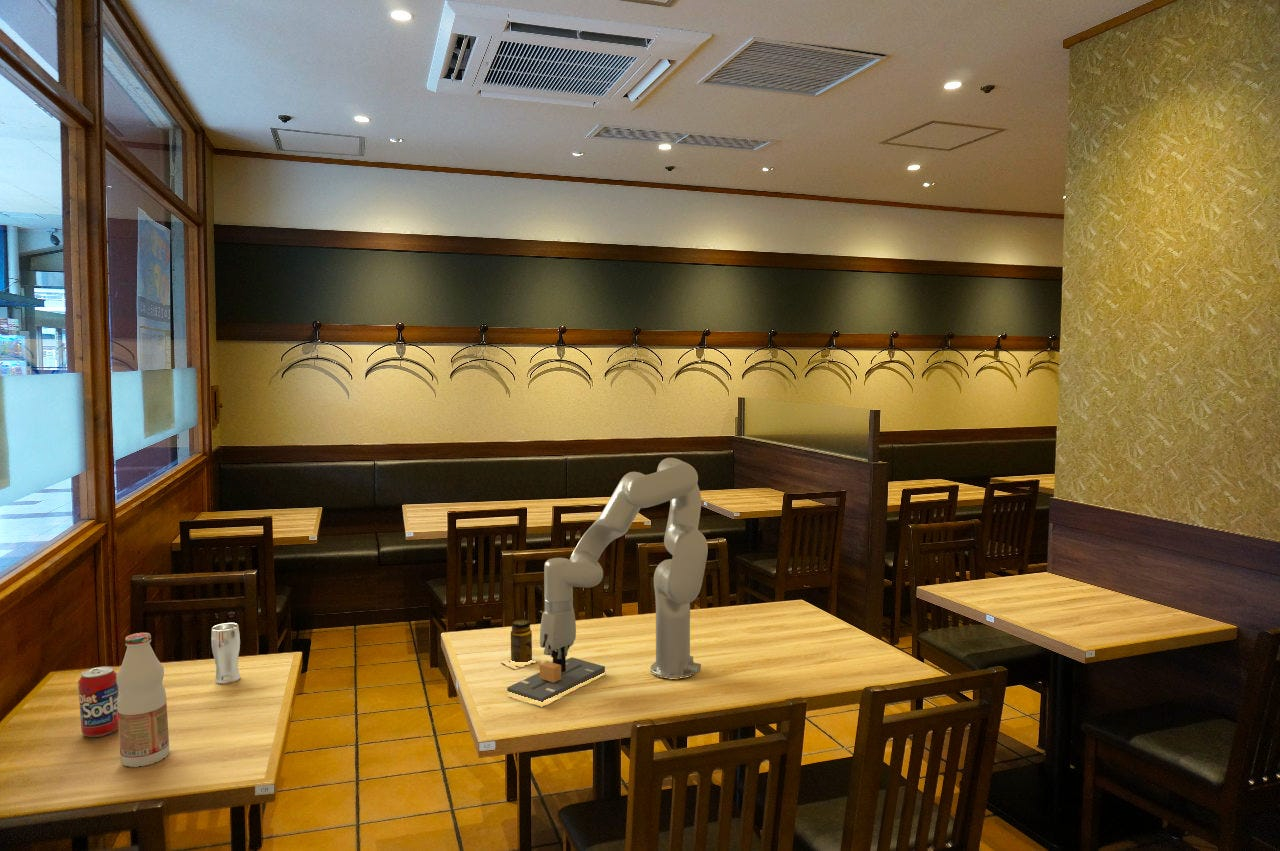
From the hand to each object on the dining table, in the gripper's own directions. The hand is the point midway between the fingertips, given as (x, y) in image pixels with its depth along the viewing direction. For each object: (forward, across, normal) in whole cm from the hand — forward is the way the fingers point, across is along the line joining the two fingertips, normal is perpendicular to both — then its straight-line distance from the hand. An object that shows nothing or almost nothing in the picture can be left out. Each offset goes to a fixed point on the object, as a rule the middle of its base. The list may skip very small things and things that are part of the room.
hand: (559, 671), depth 227 cm
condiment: (+4, -5, -20) cm, 21 cm away
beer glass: (+4, +50, -76) cm, 92 cm away
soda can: (+4, +84, -70) cm, 110 cm away
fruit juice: (+4, +84, -48) cm, 97 cm away
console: (+4, +1, 0) cm, 4 cm away
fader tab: (+1, +4, 0) cm, 4 cm away
